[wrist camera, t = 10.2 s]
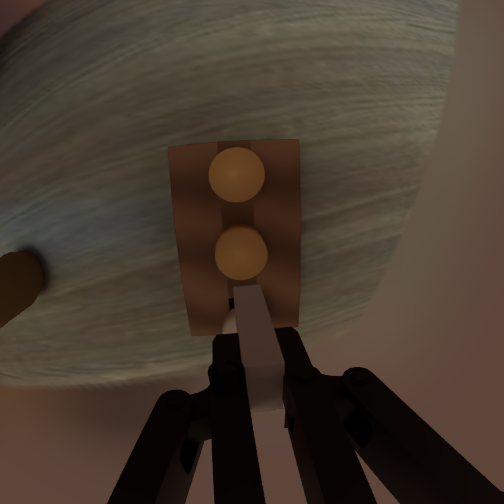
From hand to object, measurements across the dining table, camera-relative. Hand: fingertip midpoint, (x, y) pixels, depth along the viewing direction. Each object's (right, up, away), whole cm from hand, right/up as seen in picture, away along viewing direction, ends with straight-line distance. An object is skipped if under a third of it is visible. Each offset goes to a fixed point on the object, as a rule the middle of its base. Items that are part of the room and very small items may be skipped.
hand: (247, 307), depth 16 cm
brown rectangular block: (-2, +6, +17) cm, 18 cm away
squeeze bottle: (-32, 0, +16) cm, 36 cm away
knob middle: (-1, +5, +16) cm, 17 cm away
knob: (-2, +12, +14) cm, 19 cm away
